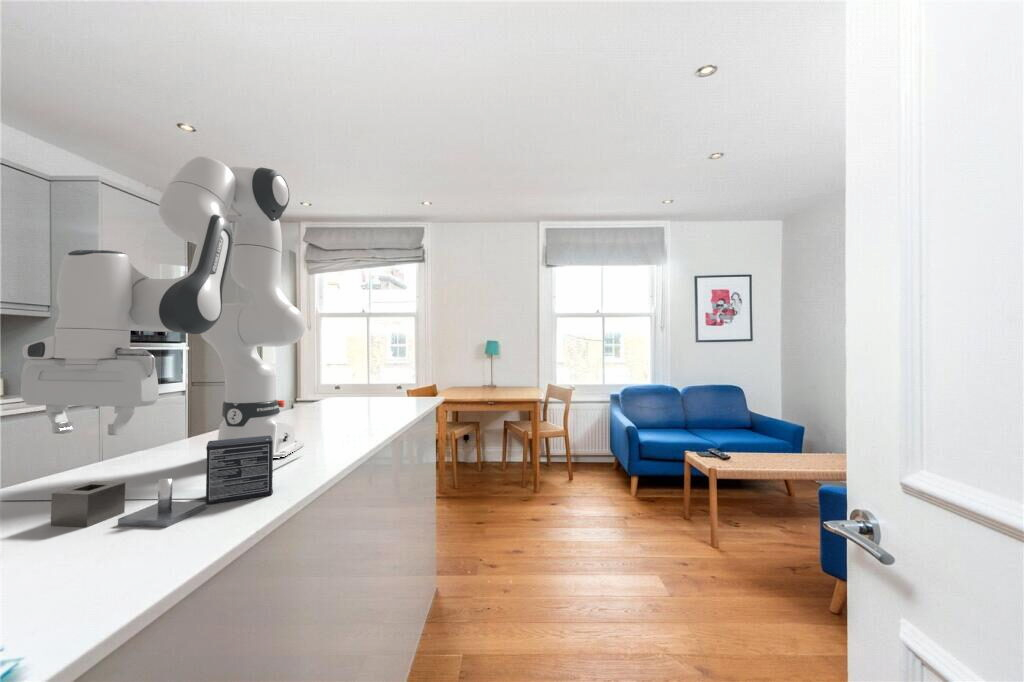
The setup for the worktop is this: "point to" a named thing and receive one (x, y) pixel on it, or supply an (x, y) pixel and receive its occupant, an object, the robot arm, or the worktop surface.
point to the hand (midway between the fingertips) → (89, 434)
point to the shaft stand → (163, 509)
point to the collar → (87, 504)
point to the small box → (239, 469)
